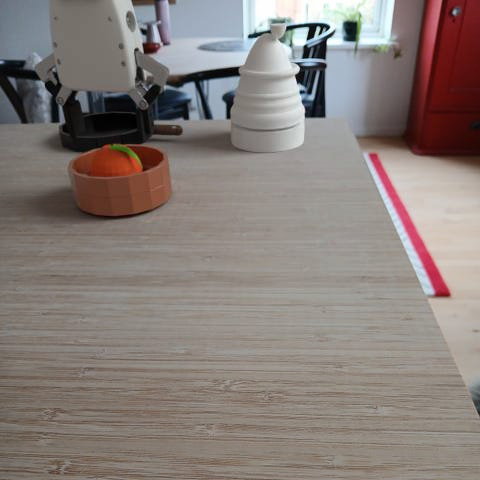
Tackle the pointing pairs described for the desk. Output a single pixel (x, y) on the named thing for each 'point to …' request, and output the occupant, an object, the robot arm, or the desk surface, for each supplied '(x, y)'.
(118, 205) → the bowl
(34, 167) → the desk surface
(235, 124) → the honey pot
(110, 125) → the pan
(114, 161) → the clementine
